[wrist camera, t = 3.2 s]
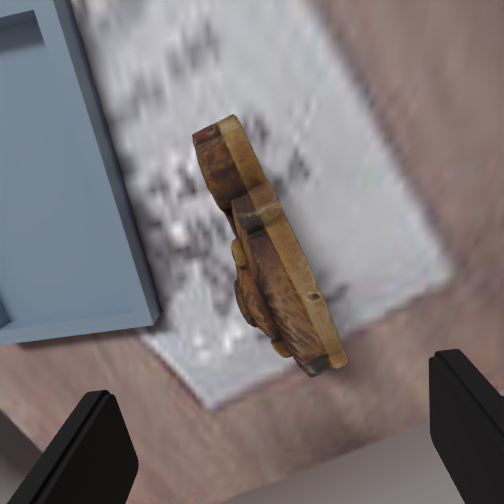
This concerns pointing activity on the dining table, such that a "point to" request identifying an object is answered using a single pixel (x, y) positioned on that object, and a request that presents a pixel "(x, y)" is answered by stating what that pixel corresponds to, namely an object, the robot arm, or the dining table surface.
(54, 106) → the tray
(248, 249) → the wooden carving
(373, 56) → the dining table surface
